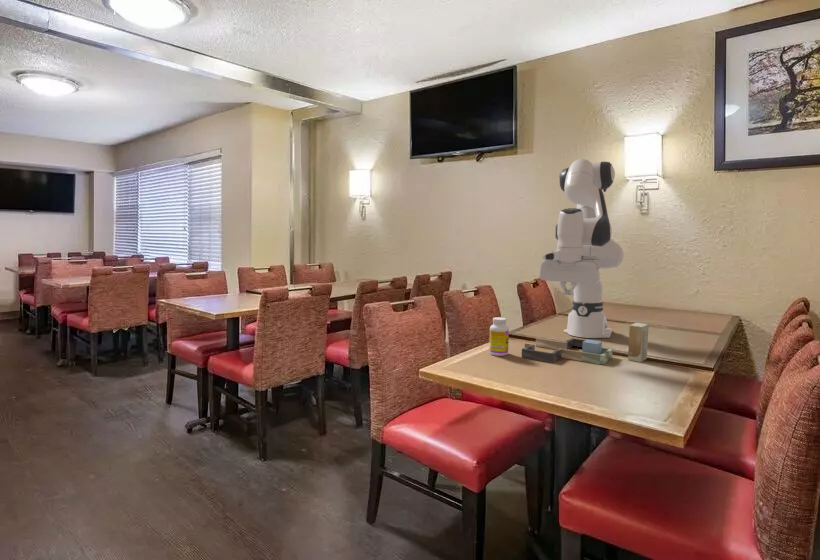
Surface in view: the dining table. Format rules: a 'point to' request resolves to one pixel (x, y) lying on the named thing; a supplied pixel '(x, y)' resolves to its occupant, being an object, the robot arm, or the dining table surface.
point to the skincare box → (638, 342)
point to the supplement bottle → (499, 337)
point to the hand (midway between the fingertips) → (568, 294)
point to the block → (592, 346)
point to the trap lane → (564, 351)
